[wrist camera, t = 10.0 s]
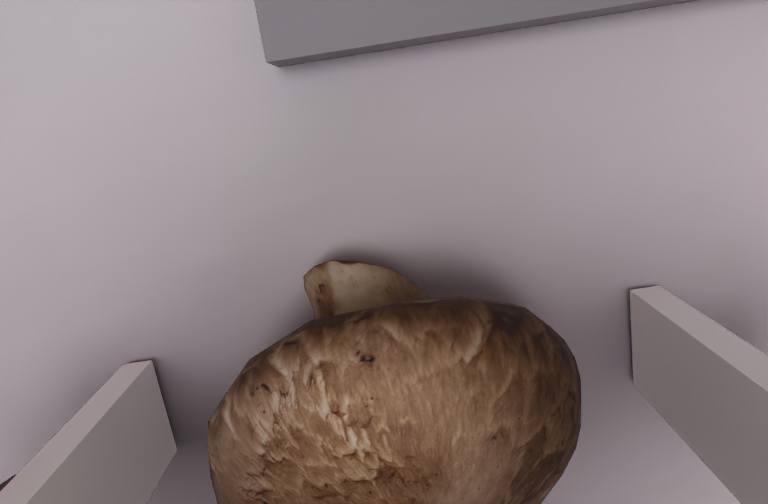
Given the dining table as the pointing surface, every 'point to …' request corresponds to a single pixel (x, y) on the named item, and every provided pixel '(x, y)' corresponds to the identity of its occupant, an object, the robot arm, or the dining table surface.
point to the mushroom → (398, 401)
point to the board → (406, 22)
